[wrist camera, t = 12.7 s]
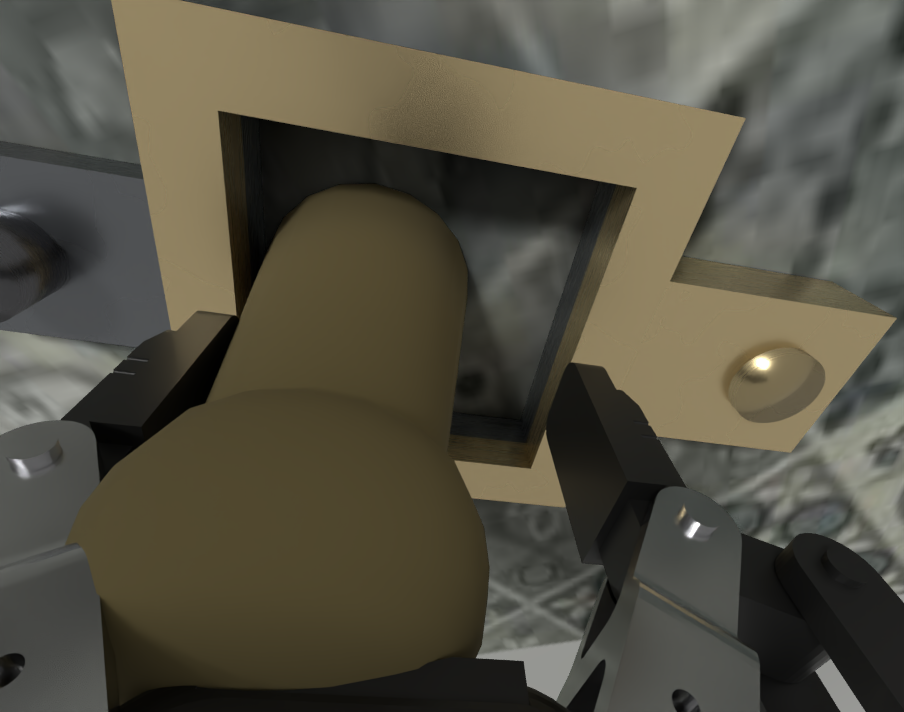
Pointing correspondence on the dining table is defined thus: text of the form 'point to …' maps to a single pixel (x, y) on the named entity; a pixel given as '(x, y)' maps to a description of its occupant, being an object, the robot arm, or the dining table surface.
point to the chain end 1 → (136, 261)
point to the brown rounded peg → (306, 475)
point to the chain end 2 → (516, 143)
